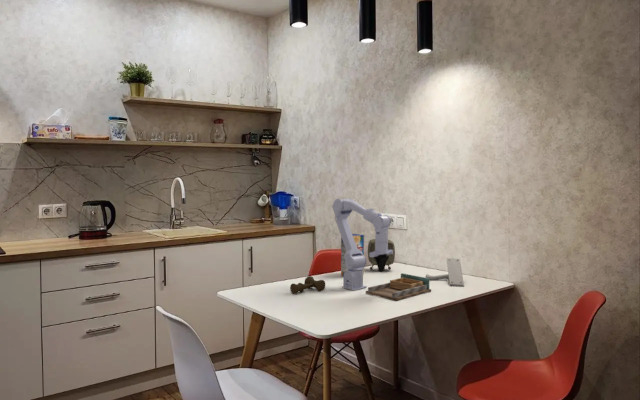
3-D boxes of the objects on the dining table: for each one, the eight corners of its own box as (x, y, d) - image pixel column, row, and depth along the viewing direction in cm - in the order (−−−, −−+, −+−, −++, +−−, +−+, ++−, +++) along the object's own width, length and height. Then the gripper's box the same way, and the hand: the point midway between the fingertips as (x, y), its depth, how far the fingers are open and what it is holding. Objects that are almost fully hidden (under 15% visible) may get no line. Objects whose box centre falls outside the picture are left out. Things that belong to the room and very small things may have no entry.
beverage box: (340, 275, 260) (341, 235, 258) (354, 273, 267) (354, 233, 266) (350, 277, 255) (350, 236, 254) (363, 274, 262) (364, 234, 261)
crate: (410, 291, 219) (410, 284, 219) (390, 287, 228) (390, 280, 228) (423, 288, 226) (423, 281, 226) (402, 283, 235) (403, 277, 234)
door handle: (462, 296, 239) (458, 270, 256) (463, 284, 235) (459, 258, 252) (426, 294, 242) (424, 268, 259) (427, 282, 238) (425, 256, 254)
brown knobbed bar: (286, 293, 222) (318, 285, 236) (299, 297, 215) (331, 289, 229) (286, 280, 222) (318, 273, 235) (299, 284, 215) (331, 277, 228)
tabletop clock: (392, 269, 279) (392, 226, 278) (395, 272, 270) (395, 228, 269) (367, 269, 278) (367, 226, 277) (370, 272, 269) (370, 228, 268)
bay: (396, 300, 207) (396, 287, 207) (365, 293, 221) (365, 280, 220) (431, 291, 225) (431, 278, 225) (400, 284, 238) (400, 273, 238)
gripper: (377, 244, 211) (377, 274, 212) (398, 241, 221) (398, 270, 222) (366, 242, 216) (365, 272, 217) (386, 239, 226) (386, 268, 227)
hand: (381, 271), depth 220 cm, fingers closed
